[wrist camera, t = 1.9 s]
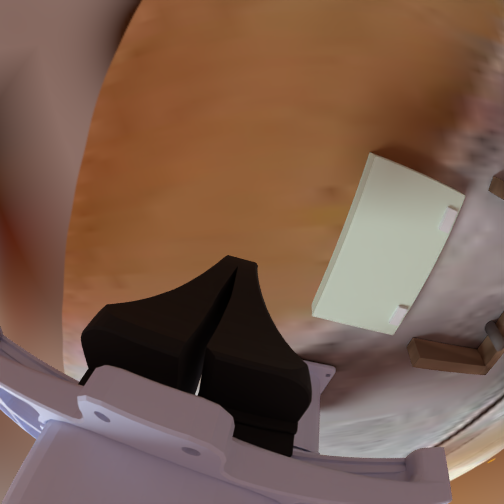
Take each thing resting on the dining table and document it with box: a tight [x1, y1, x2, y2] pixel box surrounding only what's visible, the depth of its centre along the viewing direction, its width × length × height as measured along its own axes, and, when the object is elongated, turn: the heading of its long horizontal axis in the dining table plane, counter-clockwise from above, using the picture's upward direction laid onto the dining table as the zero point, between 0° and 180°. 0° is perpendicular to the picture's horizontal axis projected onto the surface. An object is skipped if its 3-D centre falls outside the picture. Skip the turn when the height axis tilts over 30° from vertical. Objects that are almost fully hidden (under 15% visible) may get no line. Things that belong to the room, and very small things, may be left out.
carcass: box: [407, 176, 504, 375], centre depth 18 cm, size 16×10×3 cm, turn 168°
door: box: [312, 152, 465, 335], centre depth 19 cm, size 12×7×2 cm, turn 167°
